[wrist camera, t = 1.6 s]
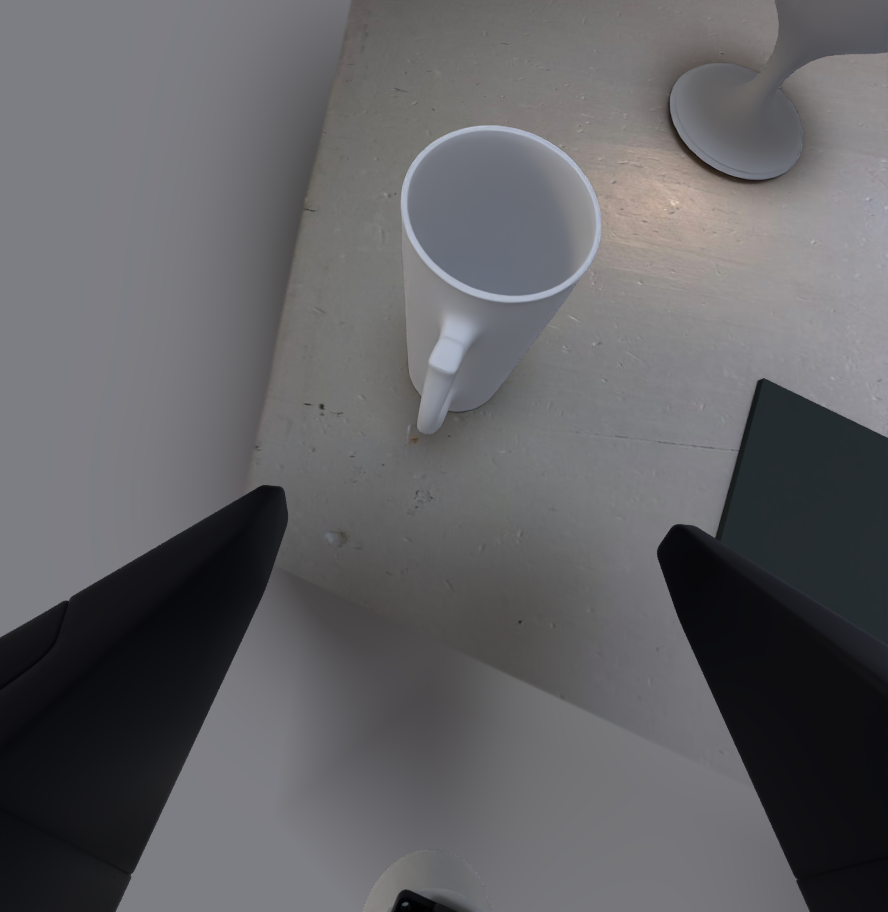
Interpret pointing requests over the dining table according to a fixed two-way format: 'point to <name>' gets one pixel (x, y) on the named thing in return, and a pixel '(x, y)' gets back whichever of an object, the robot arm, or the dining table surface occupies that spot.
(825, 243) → the dining table surface
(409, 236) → the mug
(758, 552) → the mat
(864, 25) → the chalice
